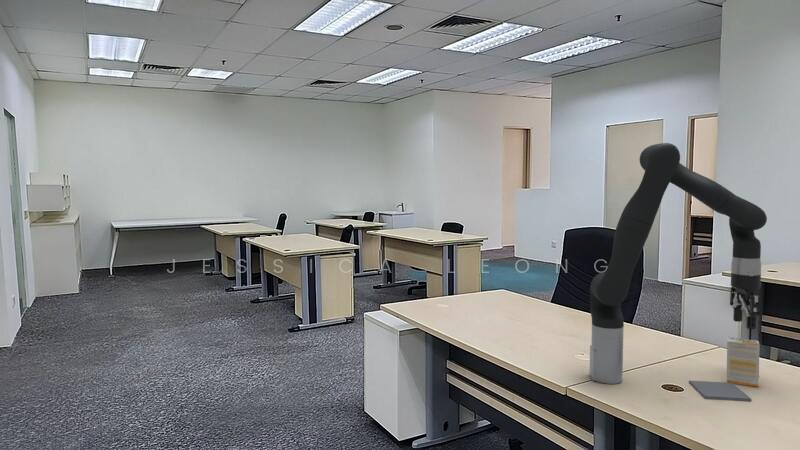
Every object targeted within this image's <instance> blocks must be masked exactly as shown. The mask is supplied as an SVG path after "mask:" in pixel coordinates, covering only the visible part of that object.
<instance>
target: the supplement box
mask: <svg viewBox="0 0 800 450" xmlns="http://www.w3.org/2000/svg"><path fill="white" fill-rule="evenodd" d="M726 342H727V343H726V345H727V346H726V348H727V349H726V382H729V383H733V384H735V385H736V384H737V385H743V386H744V385H745V386H749V387H750V386H751V387H755V388H756V387H757V388H758V387H759V382H760V380H759V379H760V375H759V374H760V351H761V350H760V347H761V346H760V342H759V340H754V339H745V338H737V337H727V341H726Z"/></svg>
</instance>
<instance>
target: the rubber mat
mask: <svg viewBox="0 0 800 450" xmlns="http://www.w3.org/2000/svg"><path fill="white" fill-rule="evenodd" d="M688 384H689V385H690V386H692V388H694V390H695V391H696V392H697V393H698V394H699V395H700V396H701V397H702V398H703V399H704V400H717V401H718V400H720V401H721V400H722V401H736V402H737V401H739V402H752V398H751V397H750V396H749V395H748V394H746V392H744V391H743V390H741V388H739V387H738V386H737V385H736V384H735V383H729V382H727V381H726V382H725V381H724V382H723V381H707V380H706V381H703V380H688Z"/></svg>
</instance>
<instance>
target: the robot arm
mask: <svg viewBox="0 0 800 450" xmlns="http://www.w3.org/2000/svg"><path fill="white" fill-rule="evenodd" d="M680 161H681V154H680V151H679V148H678V147H677V146H676V145H674V144H672V143H669V142H662V143H656V144H652V145H649V146H647V147H645V148H644V149H643V150H642V151H641V153H640V156H639V164H640V167H641V168H642V170H643V171H644V173H643V176H642V179H641V181H640V184H639V186H638V188H637V189H636V191H635V192H634V194H633V195H632V196H631V198H630V199H629V200H628V202H627V203H626V205H625V207H624V208H623V210H622V212H621V215H620V217H619V220H618V222H617V225H616V228H615V230H614V231H615V232H614V236H613V237H614V238H613V246H612V254H611V258H610V260H609V263H608V265H607V267H606V270H605V272H599V273H598V274H596V275H595V276H594V277H593V279H592V280H591V282H590V288H589V291H590V292H589V293H590V294H589V295H590V296H589V305H590V306H589V307H590V316H591V345H589V376H590V378H591V380H592V381H593V382H597V383H602V384H608V385H609V384H612V385H613V384H620V383H622V382H623V376H624V374H623V373H624V372H623V371H624V368H623V365H624V329H625V328H624V325H625V323H624V322H625V319H624V316H623V312H622V308H621V304H622V303H623V302H624V301H625V299H626V298H627V295H628V292H629V290H630V285H631V281H632V277H633V275H634V271H635V268H636V265H637V263H638V261H639V259H640V256H641V254H642V251H643V249H644V247H645V245H646V241H647V239H648V237H649V235H650V233H651V230H652V227H653V225H654V221H655V220H656V219H655V218H656V217H657V214H658V212H659V209H660V206H661V203H662V201H663V198H664V195H665V192H666V190H667V188H668V186H669V184H672V185H674V186H675V187H677V188H679V189H681V191H682V190H683V191H684V192H686V193H687V194H689V195H691V196H692V197H693V198H695V199H696V200H698V201H699V202H701V203H702V204H703V205H705V206H707V207H708V208H710V209H712V210H713V211H714V212H716V213H719V214H721V215H724V216H727V217H728V218H729V219H728V225H729V231H730V235H731V238H732V239H731V240H732V259H731V265H730V293H729V294H730V297H729V306H731V307H732V309H733V315H732V316H733V317H732V318H733V321H734V322H739V323H740V322H742V321H743V310H744V311H745V313H746V329H748V330H756V327H757V317H762V297H761V295H756V290H759V289H761V285H762V281H761V280H762V262H761V255H762V253H761V252H762V248H761V247H762V246H761V245H762V244H761V241H760V239H758V238H757V237H756V235H755V231H757V230H760V229H762V228H764V226H765V225H766V223H767V222H768V221H767V219H768V217H767V214H766V212H765V210H764V209H762V208H761V207H760V206H758V205H757V204H755V203H753V202H750V201H749V200H747V199H744V198H742V197H740V196H738V195H736V194H735V193H733V192H732V191H730V190H729V189H727V187H725V186H723V185H722V184H720V183H718V182H716V181H714V180H713V179H711V178H709V177H706V176H705V175H702V174H700V173H698V172H695V171H693V170H692V169H690V168H689V167H687V166H685V165H684V164H682V163H680Z"/></svg>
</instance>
